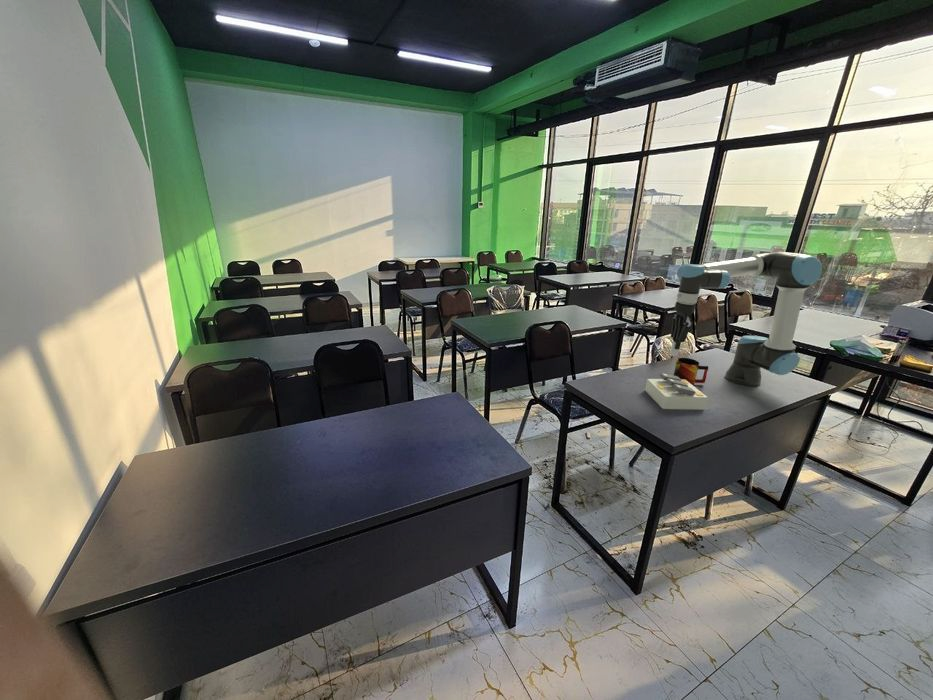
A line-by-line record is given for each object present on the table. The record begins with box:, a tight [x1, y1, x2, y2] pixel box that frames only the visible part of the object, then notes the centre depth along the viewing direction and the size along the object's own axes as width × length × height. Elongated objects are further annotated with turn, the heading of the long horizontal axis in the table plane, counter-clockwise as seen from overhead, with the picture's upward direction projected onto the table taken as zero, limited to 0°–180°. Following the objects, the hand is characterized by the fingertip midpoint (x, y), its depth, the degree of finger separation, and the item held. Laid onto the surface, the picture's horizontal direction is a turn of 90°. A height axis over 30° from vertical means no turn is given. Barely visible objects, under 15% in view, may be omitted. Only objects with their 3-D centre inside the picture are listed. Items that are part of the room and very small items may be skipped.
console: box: [645, 378, 708, 411], centre depth 178 cm, size 18×18×7 cm
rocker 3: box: [672, 384, 696, 395], centre depth 171 cm, size 8×4×2 cm, turn 91°
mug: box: [673, 357, 709, 387], centre depth 194 cm, size 10×14×12 cm
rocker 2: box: [666, 378, 688, 387], centre depth 176 cm, size 8×4×2 cm, turn 91°
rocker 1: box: [659, 372, 681, 381], centre depth 182 cm, size 8×4×2 cm, turn 90°
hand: (673, 355), depth 172 cm, fingers closed
